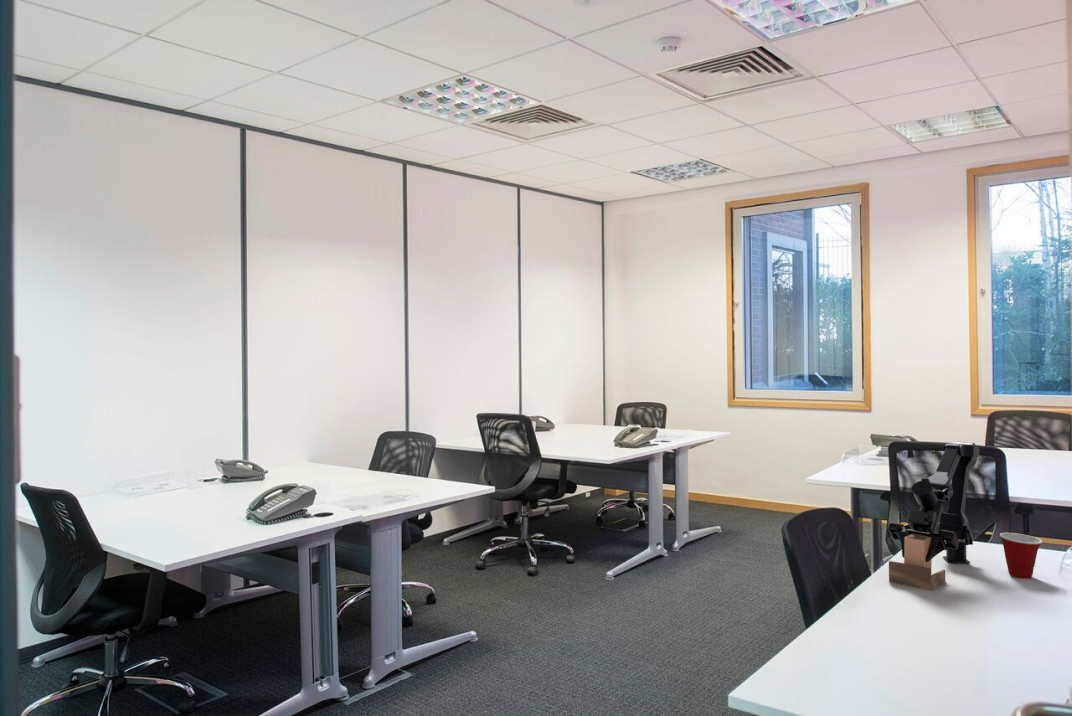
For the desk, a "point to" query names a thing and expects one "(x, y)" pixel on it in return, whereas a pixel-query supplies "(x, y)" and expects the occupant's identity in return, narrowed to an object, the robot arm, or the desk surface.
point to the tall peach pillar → (917, 550)
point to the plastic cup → (1020, 553)
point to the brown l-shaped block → (915, 575)
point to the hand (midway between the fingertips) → (914, 559)
